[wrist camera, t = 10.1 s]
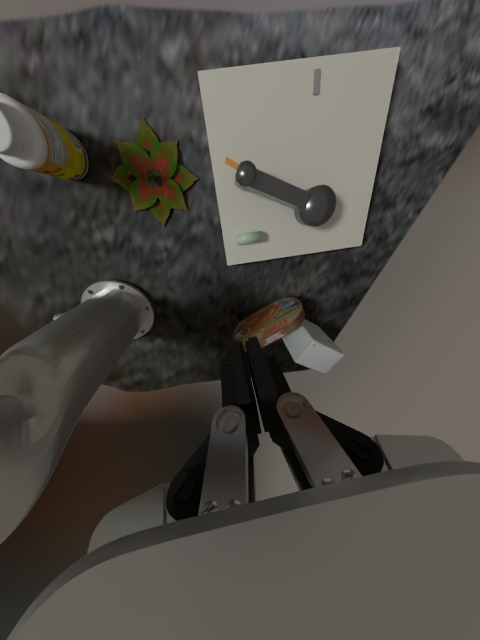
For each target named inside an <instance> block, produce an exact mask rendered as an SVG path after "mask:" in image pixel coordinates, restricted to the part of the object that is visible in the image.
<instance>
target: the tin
mask: <svg viewBox="0 0 480 640" xmlns="http://www.w3.org/2000/svg"><path fill="white" fill-rule="evenodd" d="M304 319H305V312H304V309H303V307H302V303H301V301H300V300H299V299H297V298H293V297H286V298H282V299H279V300H276V301H274V302H273V303H271V304H269V305H267V306H266V307H264V308H262V309H260V310H259V311H257V312H255V313H253V314H251V315H250V316H248V317H246V318H244V319H243V320H242V321H240V322H239V323H238V324H237V326H236V327H235V328H234V330H233V333H232V340H233V341H236V340H238V342H242V343H243V348H244V351H245V352H247V350H246V345H245V341H248V338H250V337H255V336H257V338H258V341H259V344H260V346H261V348H263V347H265V346H267V345H269V344H271V343H273V342H274V341H276V340H278V339H280V338H282V337H284V336H286V335H288V334H290V333H291V332H293V331H295V330H296V329H298V328H299V327H300V326H301V324H302V323H303V321H304Z"/></svg>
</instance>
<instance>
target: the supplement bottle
mask: <svg viewBox="0 0 480 640" xmlns="http://www.w3.org/2000/svg"><path fill="white" fill-rule="evenodd" d="M0 158H1V159H3V160H4V161H6V162H8V163H9V164H11V165H13V166H16V167H19V168H22V169H26V170H30V171H35V172H39V173H43V174H47V175H51V176H55V177H60V178H64V179H68V180H78V179H81V178H83V177H84V176H85V175H86V173H87V171H88V157H87V154H86V152H85V149H84V147H83V146H82V144H81V143H80V141H79V140H78V139H77V138H76V137H75V136H74V135H73V134H72V133H71V132H70V131H68V130H67V129H65V128H64V127H62V126H60V125H58V124H57V123H55V122H53V121H52V120H50V119H48V118H46V117H45V116H43V115H41V114H39V113H38V112H36V111H34V110H33V109H31V108H29V107H27V106H25V105H24V104H22V103H20V102H19V101H17V100H15V99H13V98H11V97H9V96H7V95H5V94H3V93H0Z"/></svg>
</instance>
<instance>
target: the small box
mask: <svg viewBox="0 0 480 640" xmlns="http://www.w3.org/2000/svg"><path fill="white" fill-rule="evenodd" d="M282 339H283V341H284V343H285V345H286V347H287V349H288V350H289V352H290V354H291V356H292V358H293V360H294V362H295V363H298V364H301V365H303V366H306V367H308V368H311V369H313V370H316V371H319V372H321V373H324V374H326V373H327V372H328V371H329V370H330V369H331V368H332V367H333V366H334V365H335V364H336V363H337V362H338V361H339V360H340V359H341V358H342V357H343V356H344V353H343V352H342V351H341V350H340V349H339V348H338V347H337V346H336V345H335V344H334V342H333V341H332V340H331V339H330V338H329V337H328V336H327V335H326V334H325V333H324V332H323V331H322V330H321V328H320V327H319V326H317V325H315V324H313V323H311V322H309V321H307V320H305V319H304V321H303V323H302V324H301V326H300V327H299V328H298V329H296V330H295V331H293V332H291V333H290V334H288V335H286V336H284V337H282Z"/></svg>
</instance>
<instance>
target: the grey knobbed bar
mask: <svg viewBox="0 0 480 640" xmlns="http://www.w3.org/2000/svg"><path fill="white" fill-rule="evenodd" d="M234 185H236V186H237V187H238V188H239V189H242V190H244V189H246V190H249V191H251V192H253V193H256V194H258V195H261V196H263V197H266V198H268V199H271V200H273V201H275V202H278V203H280V204H283V205H285V206H288V207H290V208H293V209H294V215H295V218H296V220H297V221H298V222H299V223H300V224H302V225H306V226H320V225H323V224H324V223H326V222H327V221H328V220H329V219H330V218H331V216H332V215H333V213H334V211H335V208H336V195H335V193H334V191H333V189H332V188H331V187H329V186H327V185H318V186H315V187H312V188H308V189H306V190H303V189H301V188H299V187H296V186H294V185H292V184H290V183H287V182H285V181H283V180H281V179H278V178H276V177H274V176H272V175H269V174H267V173H265V172H263V171H260V170H258V169H256V167H255V165H254V164H253V163H252V162H251V161H248V160H246V161H243V162H240V165H239V166H238V169H237V171H236V174H235V184H234Z"/></svg>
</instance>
